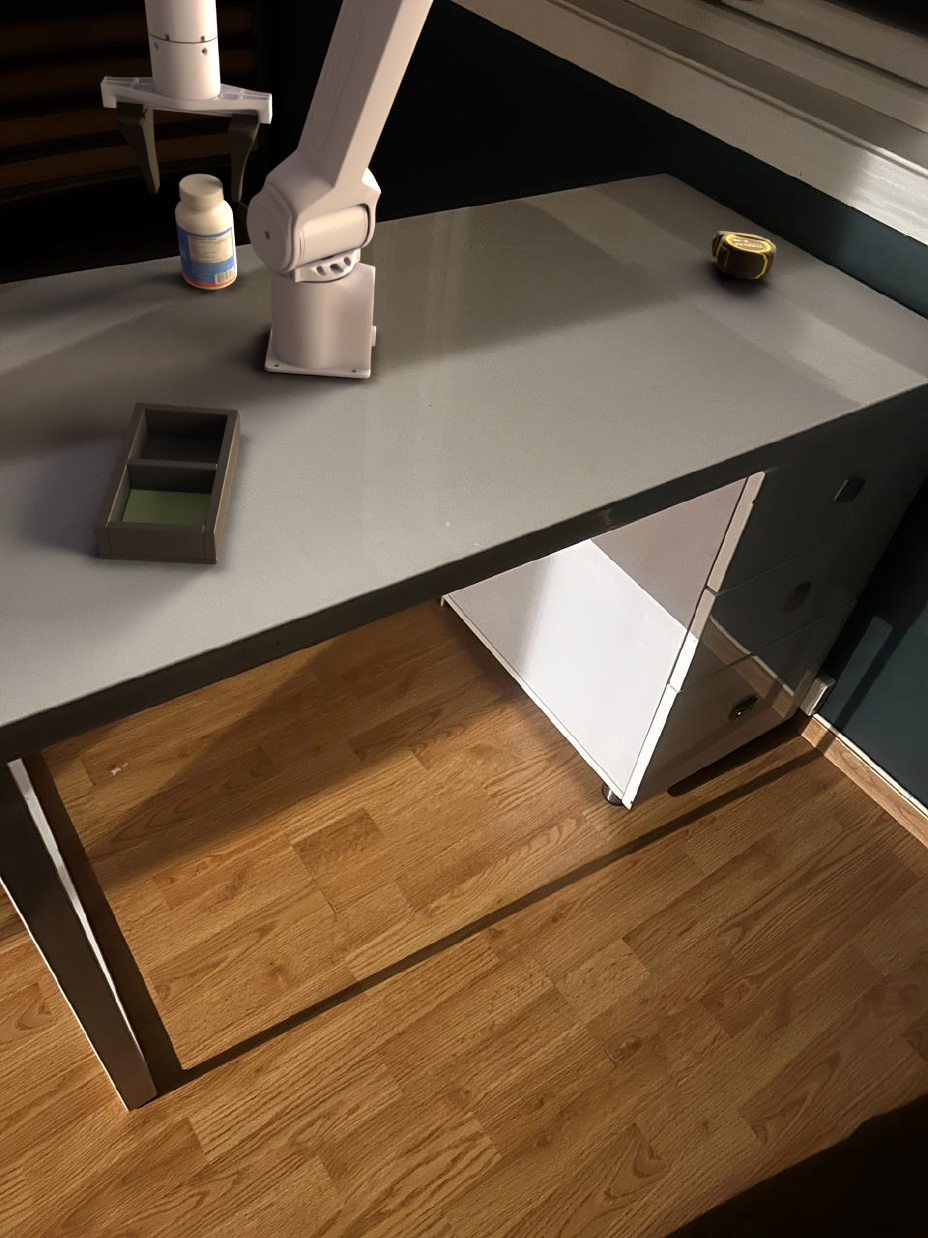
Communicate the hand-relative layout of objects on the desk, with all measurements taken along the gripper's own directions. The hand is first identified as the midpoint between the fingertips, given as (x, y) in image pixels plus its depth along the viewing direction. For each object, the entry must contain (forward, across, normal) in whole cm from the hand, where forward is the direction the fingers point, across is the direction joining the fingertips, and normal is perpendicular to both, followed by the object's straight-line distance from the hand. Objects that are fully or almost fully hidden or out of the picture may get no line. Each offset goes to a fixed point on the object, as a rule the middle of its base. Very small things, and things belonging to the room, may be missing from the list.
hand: (195, 193), depth 93 cm
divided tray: (+9, -2, +34) cm, 36 cm away
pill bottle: (+9, -1, 0) cm, 9 cm away
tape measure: (+9, -60, -13) cm, 62 cm away
